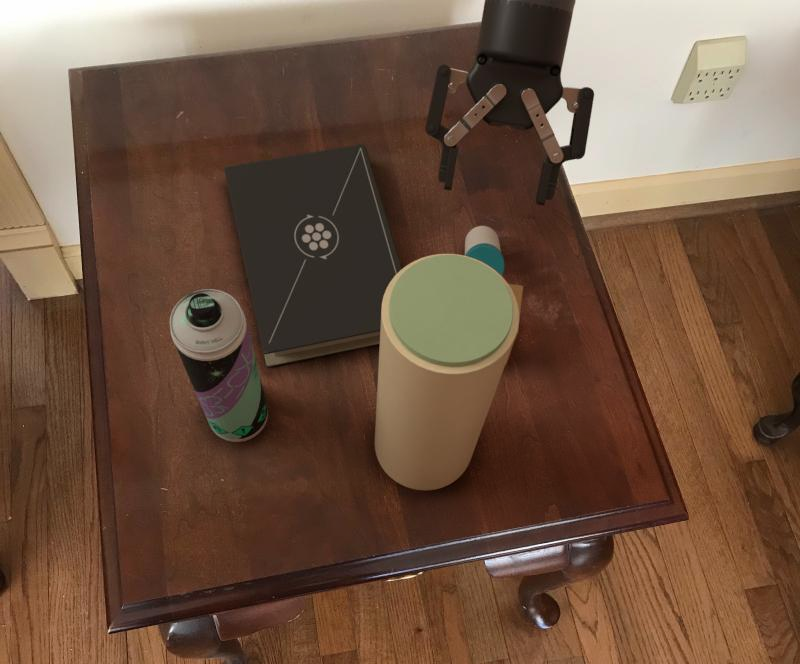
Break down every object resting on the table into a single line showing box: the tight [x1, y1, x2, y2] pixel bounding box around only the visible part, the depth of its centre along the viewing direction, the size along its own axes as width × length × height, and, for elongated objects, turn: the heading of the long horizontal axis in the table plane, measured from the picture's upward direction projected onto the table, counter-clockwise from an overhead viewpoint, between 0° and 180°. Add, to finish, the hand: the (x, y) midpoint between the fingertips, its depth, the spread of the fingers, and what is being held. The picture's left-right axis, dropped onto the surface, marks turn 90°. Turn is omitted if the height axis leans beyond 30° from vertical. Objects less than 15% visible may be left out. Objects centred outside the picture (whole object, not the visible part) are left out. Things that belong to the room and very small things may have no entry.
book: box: [223, 143, 403, 368], centre depth 82 cm, size 22×15×3 cm
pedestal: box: [374, 253, 520, 491], centre depth 65 cm, size 9×9×24 cm
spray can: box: [169, 288, 269, 443], centre depth 67 cm, size 6×6×20 cm
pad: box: [389, 255, 513, 366], centre depth 54 cm, size 8×8×1 cm
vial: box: [464, 225, 506, 277], centre depth 78 cm, size 11×4×11 cm, turn 171°
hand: (493, 196), depth 76 cm, fingers open, 8 cm apart
